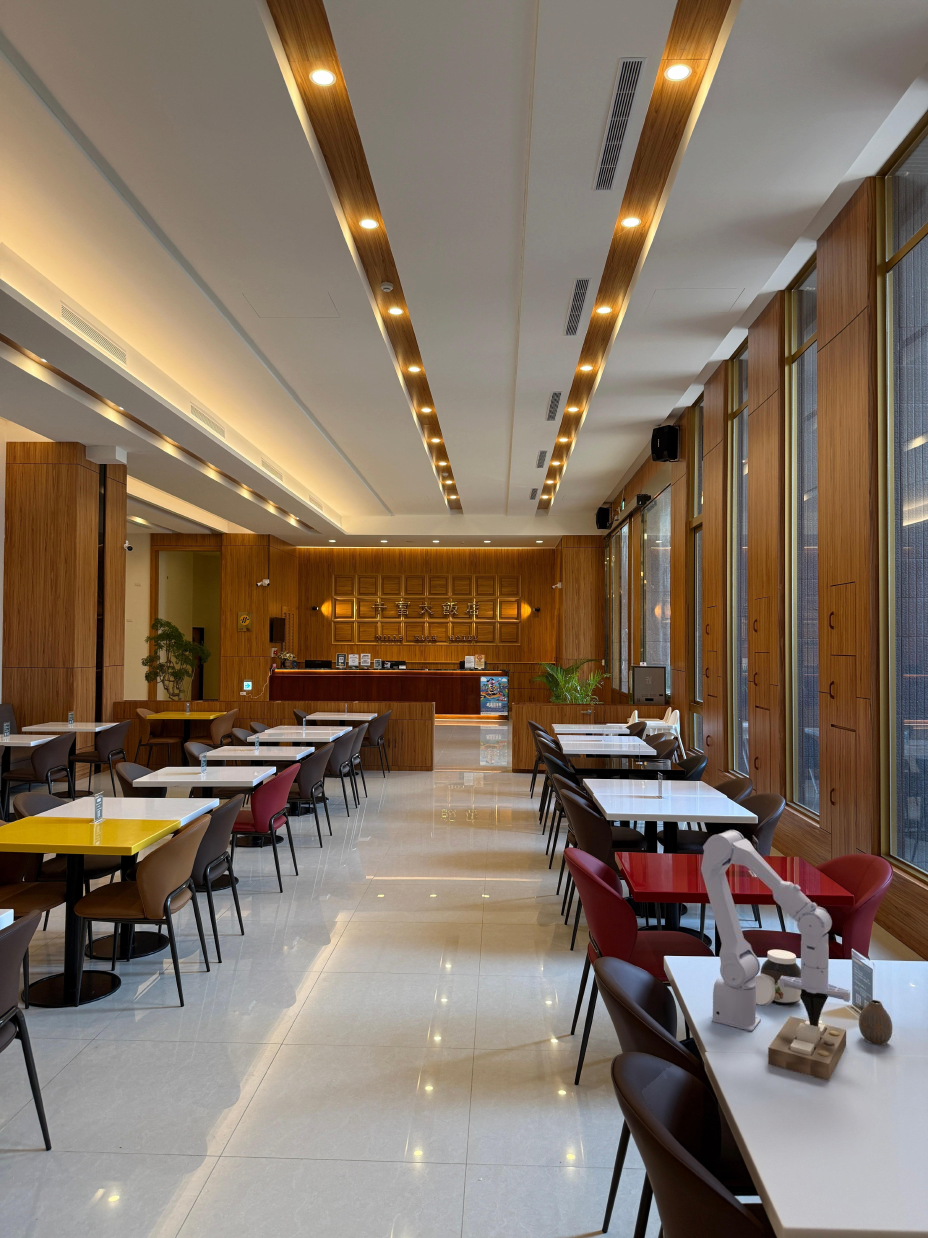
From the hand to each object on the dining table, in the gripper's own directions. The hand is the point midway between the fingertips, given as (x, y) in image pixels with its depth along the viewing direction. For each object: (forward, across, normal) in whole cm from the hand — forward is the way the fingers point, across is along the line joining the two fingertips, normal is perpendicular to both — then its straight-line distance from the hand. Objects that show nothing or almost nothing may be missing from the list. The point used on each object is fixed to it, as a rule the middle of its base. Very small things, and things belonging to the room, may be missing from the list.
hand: (814, 1026), depth 188 cm
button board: (+4, 0, -6) cm, 7 cm away
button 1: (+4, 0, -12) cm, 13 cm away
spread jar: (+4, -13, +20) cm, 24 cm away
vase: (+4, +11, +11) cm, 16 cm away
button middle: (+2, 0, -6) cm, 6 cm away
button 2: (+4, 0, 0) cm, 4 cm away
